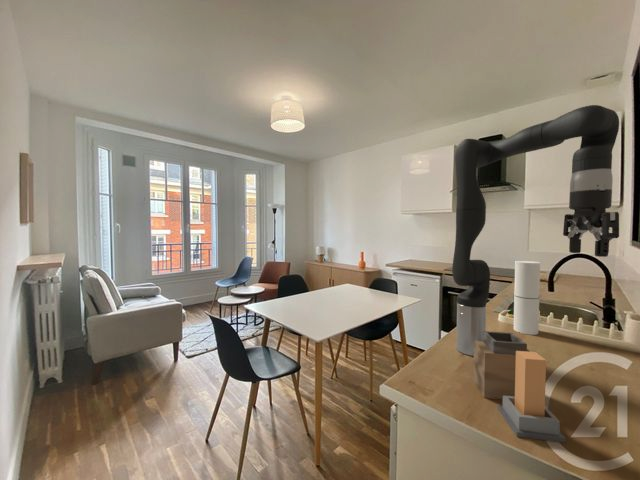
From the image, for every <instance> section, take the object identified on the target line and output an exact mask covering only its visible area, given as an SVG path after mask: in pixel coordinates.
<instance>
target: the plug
mask: <svg viewBox="0 0 640 480" xmlns="http://www.w3.org/2000/svg"><path fill="white" fill-rule="evenodd" d="M546 375H547V360H546V359H545V358H544V357H543V356H541V355H540V354H539V353H537V352H536V351H530V352H527V351H516V367H515V407H516V408H517V410H518V411H519V412H520V413H521V415H529V416H538V417H545V406H546V379H547V378H546Z"/></svg>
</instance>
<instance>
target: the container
mask: <svg viewBox="0 0 640 480" xmlns="http://www.w3.org/2000/svg"><path fill="white" fill-rule="evenodd" d="M540 284H541V262H540V261H533V260H532V261H531V260H515V261H514V290H513V291H514V292H513V293H514V296H513V297H514V298H513V299H514V301H513V330H514V331H515V332H517V333H519V332H520V334H523V335H531V336H534V335H539V324H540V323H539V321H540V320H539V319H540V318H539V317H540V291H541V290H540V288H541V287H540Z"/></svg>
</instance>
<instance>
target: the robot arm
mask: <svg viewBox="0 0 640 480" xmlns="http://www.w3.org/2000/svg"><path fill="white" fill-rule="evenodd" d="M619 130H620V119H619V115H618V113H617V112H616V111H615V110H613V109H611V108H608V107H605V106H602V105H599V104H592V105H585V106H582V107H578V108H576V109H573V110H571V111H568V112H567V113H564V114H562V115H560V116H558V117H556V118H554V119H551V120H547V121H545V122H541V123H537V124H535V125H532V126H529V127H526V128H524V129H522V130H521V129H520V130H519V131H518V132H516V133H514V134H513V135H511V136H509V137H506V138H503V139H499V140H498V139H497V140H492V141H491V140H490V141H486V140H481V139H475V138H466V139H464V140H461V142H459V144H458V145H457V147H456V150H455V152H454V153H455V154H454V162H455V175H456V177H455V178H456V209H455V210H456V211H455V241H454V251H453V252H454V253H453V259H452V265H451V267H452V271H451V272H452V274H451V275H452V278H453V281H454V283H455V284H456V285H458V286H461V287H463V286H464V287H468V288H467V289H466V290H464V291H462V292H460V293H459V294H457V296H456V341H455V342H456V350H457V351H458V352H460V353H461V354H464V355H467V356H471V357H474V341H482V340H483V331H487V329H486V328H487V301H488V299H489V296H490V295H489V294H490V285H491V284H490V283H491V282H490V281H491V271H490V267H489V265H488V263H487V262H486V261H484V260H483V259H471V253H472V248H473V245H474V243H475V242H476V240H477V238H478V237H479V235H480V234H481V232H482V231H483V229H484V227H485V224H486V220H487V219H486V214H487V210H486V209H487V203H486V200H485V197H484V194H483V193H482V192H483V191H482V190H481V188H480V185H479V182H478V173H477V172H478V171H477V170H478V168H482V167H486V166H488V165H491V164H493V163H495V162H498V161H501V160H505V159H507V158H510V157H513V156H516V155H522V154H525V153H528V152H533V151H540V150H543V149H547V148H553V147H556V146H559V145H561V144H563V142H565V141H567V140H570V139H574V138H581V139H580V140H581V142H580V147H579V149H577V150H576V151H574V153H573V154H572V159H571V162H572V163H571V164H572V165H571V177H570V182H569V200H568V201H569V203H568V208H569V210H572V211H573V210H574V212H573V214H572V213H569V214H568V213H566V214H564V221H563V229H562V230H563V232H562V233H563V234H562V235H563V236H564V237H567V239H569V246H568V247H569V253H571V254H581V252H582V251H581V250H582V247H581V246H582V239H581V238H582V237H583V235H584V234H586V233H587V232H589V233H590V234H592V235H593V236H594V238H595V240H594V241H595V242H594V256H595V257H599V258H601V257H604V258H605V257H608V256H609V251H610V250H609V248H610V241H611V240H614V239H618V238H619V237H620V213H619V212H618V211H606V209H610V208H611V207H612V203H613V202H612V201H613V200H612V199H613V181H614V180H613V173H612V172H613V171H612V168H613V167H612V166H613V165H612V162H613V149H614V146H615V143H616V141H617V138H618V133H619ZM610 228H611V232H610Z"/></svg>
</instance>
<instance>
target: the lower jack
mask: <svg viewBox="0 0 640 480" xmlns="http://www.w3.org/2000/svg"><path fill="white" fill-rule="evenodd" d="M497 410H498V412H499V413H500V414H501V416H502V417H503V418H504V420H505V422H506V423H507V425H508V426H509V428H510V429H511V430H512V431H513V433H514V435H515V436H516V437H518V438H523V439H525V438H527V439H534V440H543V441H548V440H550V441H551V442H556V441H558V443H566V437H565V436H564V434H562V433H561V432H560V429H561V428H560V426H561V425H560V423H561V422H560V420H559V419H558V417H556V415H554V414H553V413H552V411H551V410H550V409H549V408H548V407H547V406H546V405H545V417H538V416H529V415H521V413H520V412H519V411H518V410H517V408H516V407H515V397H513V396H503V399H502V405H497Z"/></svg>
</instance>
